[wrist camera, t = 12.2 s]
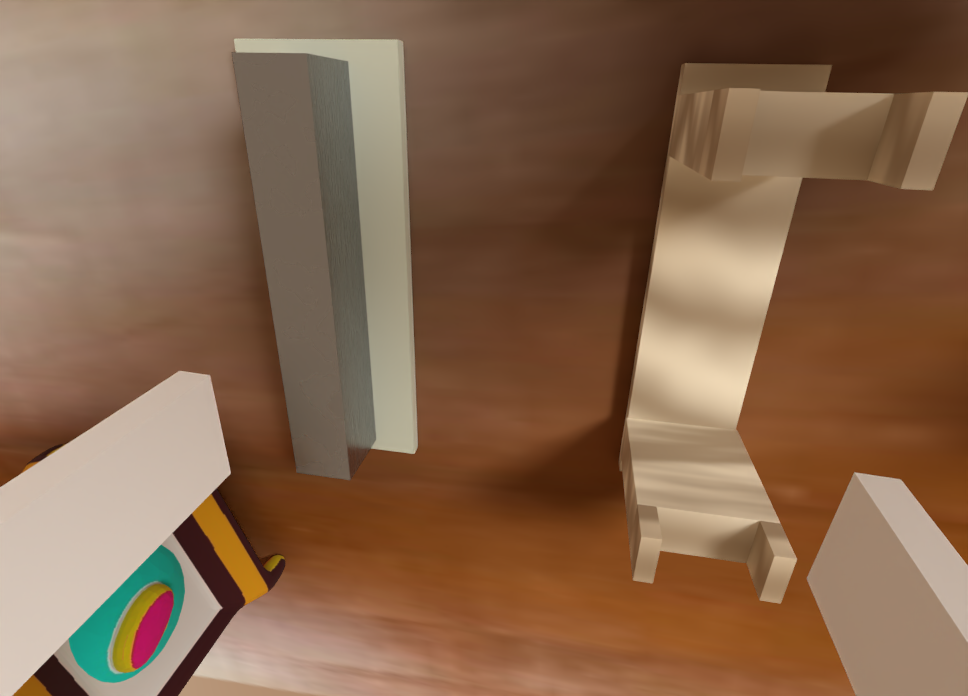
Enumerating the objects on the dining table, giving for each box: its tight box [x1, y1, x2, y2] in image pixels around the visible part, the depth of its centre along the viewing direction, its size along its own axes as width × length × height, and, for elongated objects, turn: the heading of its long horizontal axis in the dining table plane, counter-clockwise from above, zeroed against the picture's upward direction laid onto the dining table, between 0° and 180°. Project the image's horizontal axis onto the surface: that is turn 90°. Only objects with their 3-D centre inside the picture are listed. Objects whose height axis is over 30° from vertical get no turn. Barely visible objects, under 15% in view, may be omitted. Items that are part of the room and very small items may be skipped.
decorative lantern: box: [12, 444, 285, 696], centre depth 36 cm, size 20×20×30 cm
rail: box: [232, 52, 376, 480], centre depth 34 cm, size 26×4×5 cm, turn 179°
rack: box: [619, 63, 968, 603], centre depth 28 cm, size 26×7×12 cm, turn 179°
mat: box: [234, 39, 418, 454], centre depth 36 cm, size 28×10×1 cm, turn 179°
